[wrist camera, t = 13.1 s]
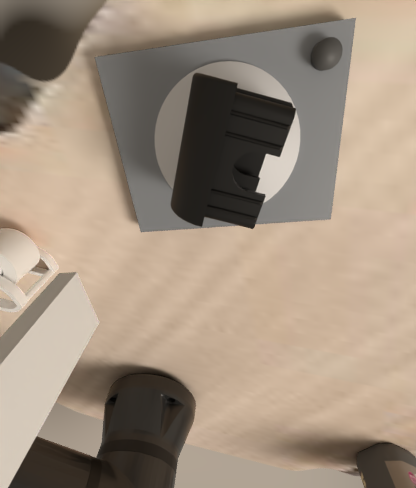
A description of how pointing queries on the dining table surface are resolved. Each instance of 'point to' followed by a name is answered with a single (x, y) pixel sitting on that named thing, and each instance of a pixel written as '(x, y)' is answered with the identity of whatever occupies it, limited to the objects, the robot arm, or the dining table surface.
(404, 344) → the dining table surface
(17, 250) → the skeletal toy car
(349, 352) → the dining table surface
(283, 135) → the end cap
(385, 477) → the liquor
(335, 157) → the plate
